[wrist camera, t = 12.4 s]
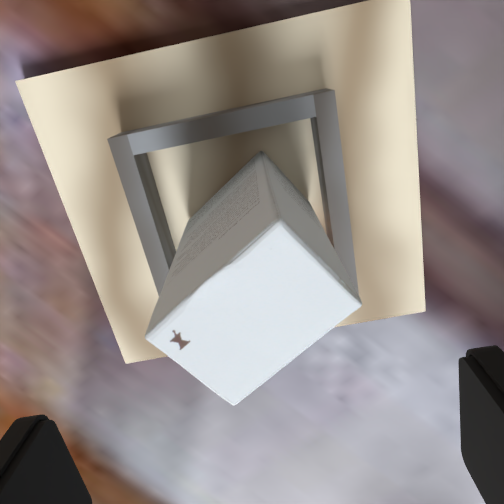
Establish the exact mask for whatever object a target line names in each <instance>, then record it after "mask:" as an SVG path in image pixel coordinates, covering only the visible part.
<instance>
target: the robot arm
mask: <svg viewBox="0 0 504 504" xmlns="http://www.w3.org/2000/svg"><path fill="white" fill-rule="evenodd" d="M459 392H460V429H461V452H462V457H463V460H464V463H465V465H466V467H467V469H468V471H469V473H470V475H471V477H472V479H473V481H474V483H475V484H476V486H477V488H478V490H479V492H480V494H481V496H482V498H483V499H484V501H485V503H486V504H504V352H503V351H502V350H501V349H500V348H499V347H498V346H495V345H494V346H488V347H481V348H474V349H469V350H467V352H466V357H462V358H460V359H459ZM0 504H92V499H91V496H90V494H89V492H88V490H87V488H86V486H85V484H84V482H83V480H82V478H81V476H80V474H79V471H78V469H77V467H76V465H75V463H74V461H73V459H72V457H71V455H70V453H69V451H68V449H67V446H66V444H65V442H64V440H63V438H62V436H61V434H60V432H59V430H58V428H57V426H56V424H55V422H54V421H53V420H49V419H48V417H47V416H45V415H35V416H29V417H22V418H19V419H16V420H15V421H14V422H13V424H12V425H11V426H10V428H9V429H8V430H7V432H6V433H5V435H4V436H3V437H2V439H1V440H0Z"/></svg>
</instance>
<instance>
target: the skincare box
mask: <svg viewBox="0 0 504 504" xmlns="http://www.w3.org/2000/svg"><path fill="white" fill-rule="evenodd" d="M361 306H362V301H361V298H360V297H359V295H358V293H357V291H356V289H355V287H354V285H353V283H352V281H351V280H350V278H349V276H348V274H347V272H346V270H345V268H344V266H343V264H342V263H341V261H340V259H339V257H338V255H337V253H336V251H335V250H334V248H333V246H332V244H331V242H330V240H329V238H328V236H327V234H326V233H325V231H324V229H323V227H322V225H321V223H320V221H319V219H318V217H317V215H316V214H315V212H314V210H313V208H312V206H311V204H310V202H309V201H308V200H307V199H306V198H305V196H304V195H303V194H302V193H301V192H300V191H299V190H298V189H297V188H296V187H295V186H294V184H293V183H292V182H291V181H290V180H289V179H288V178H287V177H286V176H285V175H284V173H283V172H282V171H281V170H280V169H279V168H278V167H277V166H276V165H275V163H274V162H273V161H272V160H271V159H270V158H269V157H268V156H267V155H266V154H265V153H264V152H263V151H260V152H258V153H257V154H256V155H255V156H254V157H253V158H252V159H251V160H250V161H249V162H248V163H247V164H246V165H245V166H244V167H243V168H242V169H241V170H240V171H239V172H238V173H237V174H236V175H235V176H234V177H233V178H232V179H230V180H229V181H228V182H227V183H226V184H225V185H224V186H223V187H222V188H221V189H220V190H219V191H218V192H217V193H216V194H215V195H214V196H213V197H212V198H211V199H210V200H209V201H208V202H207V203H206V204H205V205H204V206H203V207H202V208H200V209H199V210H198V211H197V212H196V213H195V214H194V215H193V216H192V217H191V218H190V219H189V220H188V222H187V225H186V227H185V230H184V233H183V235H182V238H181V241H180V243H179V246H178V249H177V251H176V254H175V257H174V259H173V262H172V264H171V267H170V270H169V272H168V275H167V277H166V280H165V283H164V285H163V288H162V291H161V293H160V296H159V298H158V301H157V303H156V306H155V308H154V311H153V314H152V316H151V319H150V322H149V325H148V328H147V330H146V333H145V339H146V340H147V341H149V342H150V343H151V344H153V345H154V346H155V347H157V348H158V349H160V350H161V351H162V352H164V353H165V354H166V355H167V356H169V357H170V358H171V359H173V360H174V361H175V362H177V363H178V364H179V365H180V366H182V367H183V368H184V369H186V370H187V371H188V372H189V373H191V374H192V375H193V376H194V377H196V378H197V379H198V380H199V381H201V382H202V383H203V384H205V385H206V386H207V387H208V388H210V389H211V390H212V391H213V392H215V393H216V394H217V395H219V396H220V397H221V398H223V399H224V400H226V401H227V402H228V403H230V404H231V405H236V404H238V403H239V402H240V401H241V400H242V399H244V398H245V397H246V396H248V395H249V394H250V393H251V392H253V391H254V390H255V389H256V388H258V387H259V386H260V385H262V384H263V383H264V382H265V381H267V380H268V379H269V378H271V377H272V376H273V375H274V374H276V373H277V372H278V371H279V370H281V369H282V368H283V367H284V366H286V365H287V364H288V363H289V362H291V361H292V360H293V359H294V358H296V357H297V356H298V355H299V354H301V353H302V352H303V351H304V350H306V349H307V348H308V347H309V346H311V345H312V344H313V343H314V342H316V341H317V340H318V339H320V338H321V337H322V336H323V335H325V334H326V333H327V332H329V331H330V330H331V329H332V328H334V327H335V326H336V325H337V324H339V323H340V322H341V321H342V320H344V319H345V318H346V317H348V316H349V315H350V314H352V313H353V312H354V311H356V310H357V309H359V308H360V307H361Z"/></svg>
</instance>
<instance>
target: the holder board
mask: <svg viewBox="0 0 504 504" xmlns="http://www.w3.org/2000/svg"><path fill="white" fill-rule="evenodd" d="M15 82H16V84H17V87H18V89H19V92H20V94H21V97H22V99H23V102H24V105H25V107H26V110H27V112H28V115H29V117H30V120H31V122H32V125H33V128H34V130H35V133H36V135H37V138H38V140H39V143H40V145H41V148H42V151H43V153H44V156H45V158H46V161H47V163H48V166H49V169H50V171H51V174H52V176H53V179H54V181H55V184H56V186H57V189H58V192H59V194H60V197H61V199H62V202H63V204H64V207H65V209H66V212H67V215H68V217H69V220H70V222H71V225H72V227H73V230H74V232H75V235H76V238H77V240H78V243H79V245H80V248H81V250H82V253H83V255H84V258H85V261H86V263H87V266H88V268H89V271H90V273H91V276H92V278H93V281H94V284H95V286H96V289H97V291H98V294H99V296H100V299H101V301H102V304H103V307H104V309H105V312H106V314H107V317H108V319H109V322H110V324H111V327H112V330H113V332H114V335H115V337H116V340H117V342H118V345H119V347H120V350H121V353H122V355H123V358H124V360H125V363H126V364H127V363H132V362H138V361H144V360H149V359H155V358H161V357H167V355H166V354H165V353H164V352H162V351H161V350H160V349H158V348H157V347H155V346H154V345H153V344H151V343H150V342H149V341H147V340H146V339H145V333H146V330H147V328H148V325H149V322H150V319H151V316H152V314H153V311H154V308H155V306H156V303H157V301H158V298H159V296H160V293H161V291H162V288H163V285H164V283H165V280H166V277H167V275H168V272H169V270H170V267H171V264H172V262H173V259H174V257H175V254H176V251H177V249H178V246H179V243H180V241H181V238H182V235H183V233H184V230H185V227H186V225H187V222H188V220H189V219H190V218H191V217H192V216H193V215H194V214H195V213H196V212H197V211H198V210H199V209H200V208H202V207H203V206H204V205H205V204H206V203H207V202H208V201H209V200H210V199H211V198H212V197H213V196H214V195H215V194H216V193H217V192H218V191H219V190H220V189H221V188H222V187H223V186H224V185H225V184H226V183H227V182H228V181H229V180H230V179H232V178H233V177H234V176H235V175H236V174H237V173H238V172H239V171H240V170H241V169H242V168H243V167H244V166H245V165H246V164H247V163H248V162H249V161H250V160H251V159H252V158H253V157H254V156H255V155H256V154H257V153H258V152H260V151H263V152H264V153H265V154H266V155H267V156H268V157H269V158H270V159H271V160H272V161H273V162H274V163H275V165H276V166H277V167H278V168H279V169H280V170H281V171H282V172H283V173H284V175H285V176H286V177H287V178H288V179H289V180H290V181H291V182H292V183H293V184H294V186H295V187H296V188H297V189H298V190H299V191H300V192H301V193H302V194H303V195H304V196H305V198H306V199H307V200H308V201H309V202H310V204H311V206H312V208H313V210H314V212H315V214H316V215H317V217H318V219H319V221H320V223H321V225H322V227H323V229H324V231H325V233H326V234H327V236H328V238H329V240H330V242H331V244H332V246H333V248H334V250H335V251H336V253H337V255H338V257H339V259H340V261H341V263H342V264H343V266H344V268H345V270H346V272H347V274H348V276H349V278H350V280H351V281H352V283H353V285H354V287H355V289H356V291H357V293H358V295H359V297H360V298H361V301H362V306H361V307H360V308H359V309H357V310H356V311H354V312H353V313H352V314H350V315H349V316H348V317H346V318H345V319H344V320H342V321H341V322H340V323H339V324H337V325H336V326H335V327H339V326H344V325H350V324H356V323H362V322H367V321H373V320H379V319H385V318H390V317H396V316H402V315H408V314H413V313H419V312H425V311H426V310H425V290H424V270H423V250H422V229H421V209H420V189H419V169H418V149H417V129H416V109H415V89H414V69H413V49H412V29H411V9H410V0H368V1H364V2H359V3H355V4H350V5H346V6H342V7H337V8H333V9H329V10H324V11H320V12H316V13H311V14H307V15H302V16H298V17H294V18H289V19H285V20H281V21H276V22H272V23H267V24H263V25H259V26H254V27H250V28H246V29H241V30H237V31H232V32H228V33H224V34H219V35H215V36H211V37H206V38H202V39H197V40H193V41H189V42H184V43H180V44H176V45H171V46H167V47H162V48H158V49H154V50H149V51H145V52H141V53H136V54H132V55H128V56H123V57H119V58H114V59H110V60H106V61H101V62H97V63H93V64H88V65H84V66H79V67H75V68H71V69H66V70H62V71H58V72H53V73H49V74H44V75H40V76H36V77H31V78H27V79H23V80H18V81H15Z"/></svg>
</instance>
